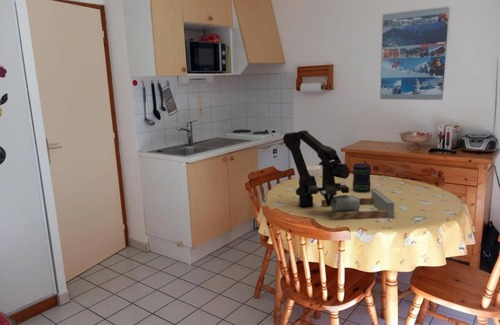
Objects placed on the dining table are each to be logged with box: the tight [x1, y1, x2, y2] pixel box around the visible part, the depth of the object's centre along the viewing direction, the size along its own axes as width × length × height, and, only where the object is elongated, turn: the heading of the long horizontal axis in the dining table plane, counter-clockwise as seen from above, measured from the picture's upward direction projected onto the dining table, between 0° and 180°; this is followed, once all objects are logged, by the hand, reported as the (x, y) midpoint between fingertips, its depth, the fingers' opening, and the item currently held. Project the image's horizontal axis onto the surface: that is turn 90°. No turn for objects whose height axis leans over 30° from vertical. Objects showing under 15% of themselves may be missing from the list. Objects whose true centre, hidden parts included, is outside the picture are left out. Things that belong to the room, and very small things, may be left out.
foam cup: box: [306, 165, 321, 188], centre depth 227 cm, size 10×9×13 cm
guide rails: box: [321, 197, 387, 221], centre depth 187 cm, size 26×21×3 cm
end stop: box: [370, 189, 395, 219], centre depth 187 cm, size 3×22×7 cm, turn 1°
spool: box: [330, 194, 361, 213], centre depth 186 cm, size 14×10×10 cm
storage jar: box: [352, 163, 372, 194], centre depth 219 cm, size 10×10×15 cm
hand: (328, 206), depth 186 cm, fingers closed
